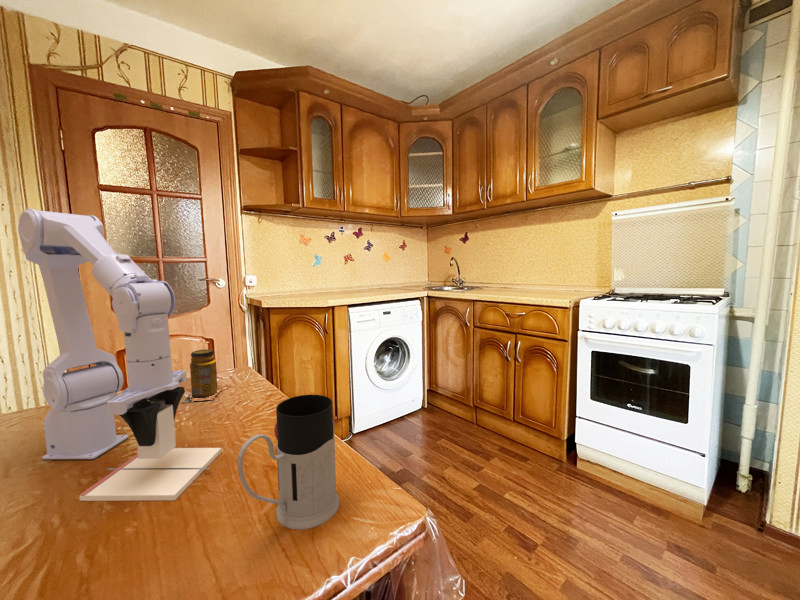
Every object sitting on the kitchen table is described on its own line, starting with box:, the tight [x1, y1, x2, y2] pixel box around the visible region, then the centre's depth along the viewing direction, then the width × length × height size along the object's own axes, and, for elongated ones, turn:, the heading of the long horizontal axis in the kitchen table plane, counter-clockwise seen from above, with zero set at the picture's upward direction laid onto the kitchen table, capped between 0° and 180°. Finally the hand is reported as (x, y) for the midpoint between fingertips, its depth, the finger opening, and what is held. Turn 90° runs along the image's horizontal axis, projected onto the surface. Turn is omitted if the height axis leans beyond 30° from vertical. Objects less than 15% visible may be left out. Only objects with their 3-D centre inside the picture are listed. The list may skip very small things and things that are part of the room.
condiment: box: [182, 348, 219, 404], centre depth 89 cm, size 7×8×12 cm
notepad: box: [78, 447, 223, 502], centre depth 56 cm, size 17×13×1 cm
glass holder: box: [237, 394, 341, 531], centre depth 45 cm, size 9×14×15 cm, turn 146°
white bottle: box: [136, 399, 177, 459], centre depth 55 cm, size 4×4×9 cm
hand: (156, 438), depth 55 cm, fingers closed on white bottle, 4 cm apart
